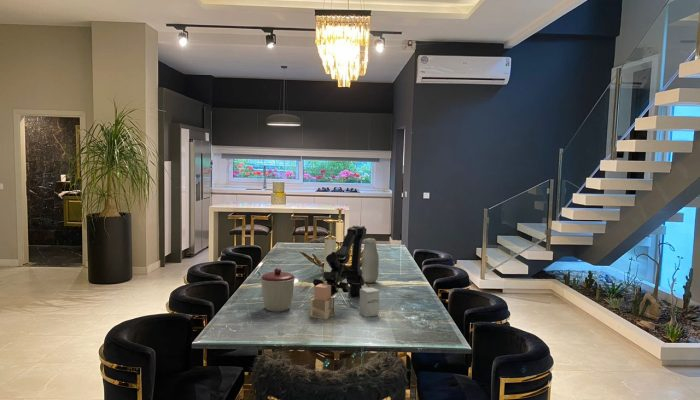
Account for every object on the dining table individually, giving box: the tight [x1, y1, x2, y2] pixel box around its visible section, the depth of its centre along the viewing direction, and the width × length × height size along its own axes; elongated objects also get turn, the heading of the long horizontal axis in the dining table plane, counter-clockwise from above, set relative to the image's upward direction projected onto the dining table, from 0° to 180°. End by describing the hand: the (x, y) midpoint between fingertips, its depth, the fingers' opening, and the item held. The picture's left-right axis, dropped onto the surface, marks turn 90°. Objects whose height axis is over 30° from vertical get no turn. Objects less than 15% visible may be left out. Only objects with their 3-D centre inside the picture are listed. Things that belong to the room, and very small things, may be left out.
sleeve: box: [309, 297, 335, 320], centre depth 245 cm, size 8×9×9 cm
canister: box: [259, 267, 296, 313], centre depth 254 cm, size 18×18×21 cm
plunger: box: [313, 284, 332, 301], centre depth 245 cm, size 6×6×14 cm
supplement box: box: [358, 286, 380, 318], centre depth 248 cm, size 7×7×13 cm
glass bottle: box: [361, 237, 380, 284], centre depth 310 cm, size 10×10×28 cm
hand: (325, 300), depth 248 cm, fingers closed, pressing on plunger
